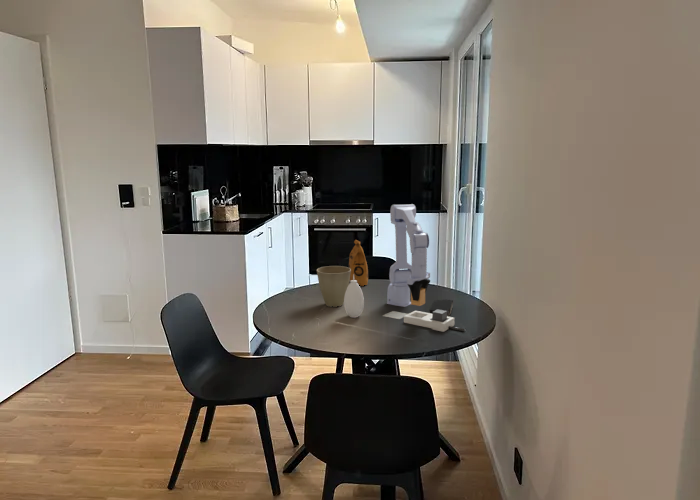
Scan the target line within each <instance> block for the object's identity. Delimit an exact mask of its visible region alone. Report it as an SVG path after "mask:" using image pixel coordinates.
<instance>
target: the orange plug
mask: <svg viewBox="0 0 700 500" xmlns="http://www.w3.org/2000/svg"><path fill="white" fill-rule="evenodd" d="M410 302H411V304H410V305H413V306H417V307H421V306H423V305H425V304H426V293H425V288H421V289H420V296H419V301H415V300H413V297H412V293H411V292H410Z"/></svg>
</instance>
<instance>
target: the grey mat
mask: <svg viewBox="0 0 700 500" xmlns="http://www.w3.org/2000/svg"><path fill="white" fill-rule="evenodd" d="M407 314H408V313H405V312H399V311H395V310H392V311H390V312H388V313H385V314H383V315H382V317H386V318H392V319H397V320H401V319H404V316H405V315H407Z"/></svg>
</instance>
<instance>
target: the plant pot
mask: <svg viewBox="0 0 700 500" xmlns="http://www.w3.org/2000/svg"><path fill="white" fill-rule="evenodd" d="M350 274H351V269H350V268H349V266H348V267H347V266H343V265H342V266H341V265H329V266H321V267H318V268H317V269H316V275H317V280H318V284H319V289H320V292H321V295H322V298H323V301H324V303H325V305H326V306H327V305H328V306H327V307H329V306H333V307H332V308H336V307H337V306H339V307H341V305H342V306H344V297H345V292H346V290H347V287H348V285H349V284H350ZM337 308H338V307H337Z"/></svg>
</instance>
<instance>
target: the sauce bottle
mask: <svg viewBox="0 0 700 500" xmlns="http://www.w3.org/2000/svg"><path fill="white" fill-rule="evenodd" d="M363 293H364V292H363V290H362V288H361V286H359V284H358V283H357V281H356V280H354V274H353V280H351V281H350V280H349V285H348V287H347V290H346V292H345V297H344V302H343V306H344V309H345V312H346V314H347V316H349V317H350V318H359V316H360V315H362V313H363V311H364V307H365V298H364V294H363Z"/></svg>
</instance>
